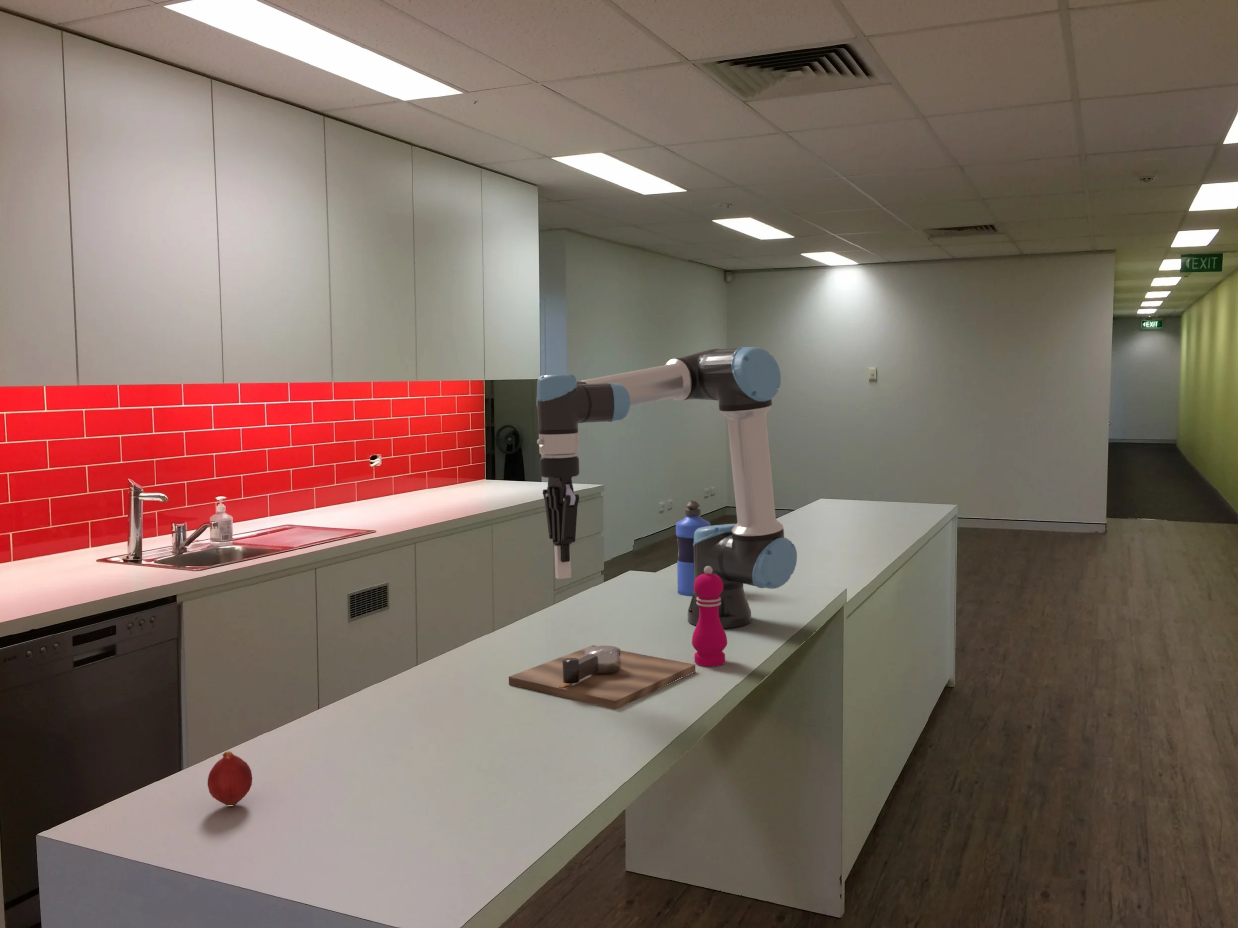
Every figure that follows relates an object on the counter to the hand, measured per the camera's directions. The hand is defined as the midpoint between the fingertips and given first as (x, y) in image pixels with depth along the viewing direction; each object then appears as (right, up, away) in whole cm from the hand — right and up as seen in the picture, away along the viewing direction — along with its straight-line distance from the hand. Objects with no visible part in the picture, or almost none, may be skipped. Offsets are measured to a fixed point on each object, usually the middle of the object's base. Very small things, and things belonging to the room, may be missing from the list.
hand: (563, 577), depth 186 cm
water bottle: (+31, -13, +76) cm, 84 cm away
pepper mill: (+29, -19, +11) cm, 37 cm away
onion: (-44, -26, -51) cm, 72 cm away
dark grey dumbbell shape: (+5, -18, -1) cm, 19 cm away
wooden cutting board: (+8, -20, +3) cm, 22 cm away
